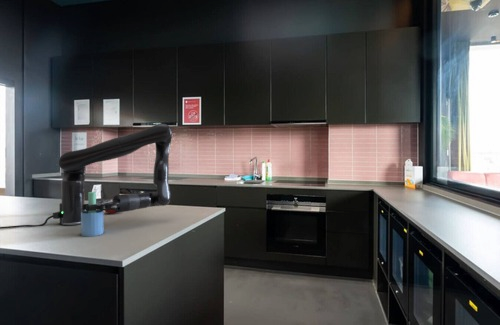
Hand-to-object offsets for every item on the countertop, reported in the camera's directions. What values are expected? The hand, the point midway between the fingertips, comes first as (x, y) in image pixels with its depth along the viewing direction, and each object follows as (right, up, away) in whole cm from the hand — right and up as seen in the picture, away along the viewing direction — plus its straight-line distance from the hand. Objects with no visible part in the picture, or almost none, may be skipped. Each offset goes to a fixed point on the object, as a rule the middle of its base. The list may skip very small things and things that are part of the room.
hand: (84, 207), depth 123 cm
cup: (+2, -11, +2) cm, 11 cm away
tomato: (-8, -10, +45) cm, 47 cm away
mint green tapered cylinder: (+2, -10, +2) cm, 11 cm away
